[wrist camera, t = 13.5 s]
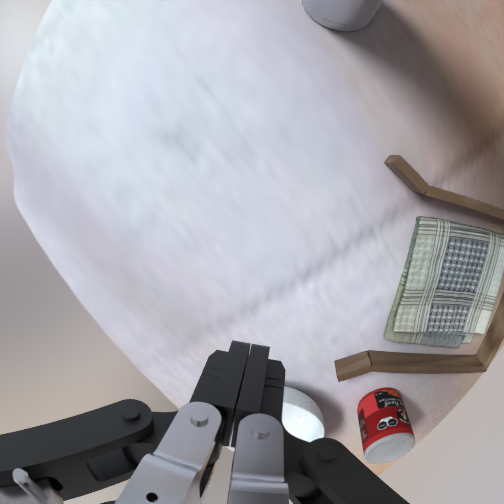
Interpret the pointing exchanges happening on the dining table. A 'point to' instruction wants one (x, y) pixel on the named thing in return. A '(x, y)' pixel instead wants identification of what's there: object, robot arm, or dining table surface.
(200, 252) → the dining table surface
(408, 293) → the dish towel
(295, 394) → the cereal bowl
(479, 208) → the towel holder
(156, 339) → the dining table surface
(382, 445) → the canned food
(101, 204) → the dining table surface
